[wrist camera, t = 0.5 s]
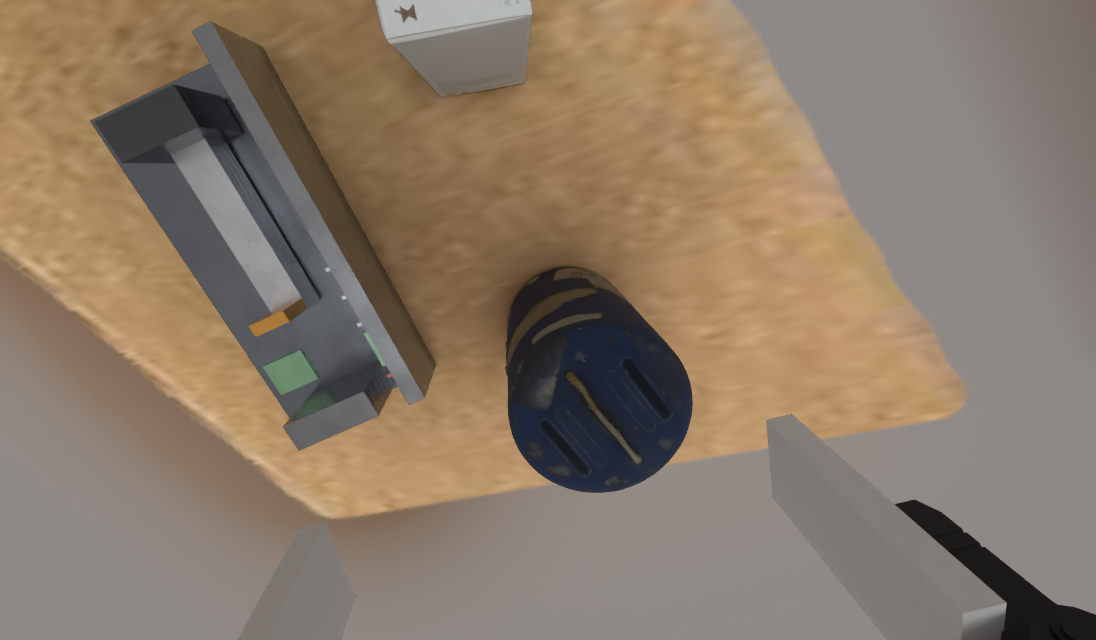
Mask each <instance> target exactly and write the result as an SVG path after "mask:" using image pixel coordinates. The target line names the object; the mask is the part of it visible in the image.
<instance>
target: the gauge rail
mask: <svg viewBox="0 0 1096 640" xmlns="http://www.w3.org/2000/svg"><path fill="white" fill-rule="evenodd" d="M192 33H193V34H194V36H195V38H196V40H197V41H198V43H199V45H200V46H201V48H202V50H203V52H204V53H205V55H206V57H207V58H208V60H209V62H210V64H208V65H206V66H204V67H202V68H200V69H198V70H196V71H194V72H192V73H189V74H187V75H185V76H183V77H181V78H179V79H177V80H175V81H173V82H171V83H169V84H166V85H164V86H162V87H160V88H158V89H156V90H154V91H152V92H150V93H148V94H145V95H143V96H141V97H139V98H137V99H135V100H133V101H131V102H129V103H127V104H124V105H122V106H120V107H118V108H116V109H114V110H112V111H110V112H108V113H106V114H104V115H101V116H99V117H97V118H95V119H93V120H91V121H90V122H91V123H92V125H93V126H94V128H95V129H96V131H97V132H98V134H99V135H100V137H101V138H102V140H103V141H104V143H105V144H106V146H107V147H108V149H109V150H110V152H111V153H112V155H113V156H114V158H115V159H116V161H117V162H118V164H119V165H120V167H121V168H122V170H123V171H124V173H125V174H126V176H127V177H128V178H129V180H130V181H131V183H132V184H133V186H134V187H135V189H136V190H137V192H138V193H139V195H140V196H141V198H142V199H143V201H144V202H145V204H146V205H147V207H148V208H149V210H150V211H151V213H152V214H153V216H154V217H155V219H156V220H157V222H158V223H159V225H160V226H161V228H162V229H163V231H164V232H165V233H166V235H167V236H168V238H169V239H170V241H171V242H172V244H173V245H174V247H175V248H176V250H177V251H178V253H179V254H180V256H181V257H182V259H183V260H184V262H185V263H186V265H187V266H188V268H189V269H190V271H191V272H192V274H193V275H194V277H195V278H196V280H197V281H198V283H199V284H200V286H201V287H202V288H203V290H204V291H205V293H206V294H207V296H208V297H209V299H210V300H211V302H212V303H213V305H214V306H215V308H216V309H217V311H218V312H219V314H220V315H221V317H222V318H223V320H224V321H225V323H226V324H227V326H228V327H229V329H230V330H231V332H232V333H233V335H234V336H235V338H236V339H237V341H238V342H239V343H240V345H241V346H242V348H243V349H244V351H245V352H246V354H247V355H248V357H249V358H250V360H251V361H252V363H253V364H254V366H255V367H256V369H257V370H258V372H259V373H260V375H261V376H262V378H263V379H264V381H265V382H266V384H267V385H268V387H269V388H270V390H271V391H272V393H273V394H274V396H275V397H276V398H277V400H278V401H279V403H280V404H281V406H282V407H283V409H284V410H285V412H286V413H287V415H288V416H289V418H290V419H289V420H288V421H287V423H286V424H285V425H284V426H283V428H284V430H285V431H286V433H287V434H288V435H289V437H290V438H291V440H292V441H293V443H294V444H295V446H296V447H297V449H298V450H302V449H304V448H306V447H309V446H311V445H313V444H316V443H318V442H320V441H322V440H325V439H327V438H329V437H332V436H334V435H336V434H338V433H341V432H343V431H345V430H348V429H350V428H352V427H354V426H357V425H359V424H361V423H364V422H366V421H368V420H370V419H373V418H375V417H377V416H379V414H380V412H381V410H382V408H383V406H384V404H385V402H386V400H387V398H388V396H389V394H390V392H391V390H392V389H393V388H395V387H397V386H398V387H399V389H400V390H401V392H402V394H403V396H404V397H405V399H406V401H407V402H408V404H409V405H410V404H412V403H414V402H417V401H419V400H421V399H424V398H425V395H426V392H427V390H428V387H429V384H430V381H431V378H432V375H433V372H434V369H435V366H436V364H435V362H434V360H433V358H432V356H431V355H430V353H429V351H428V349H427V347H426V345H425V344H424V342H423V340H422V338H421V336H420V334H419V333H418V331H417V329H416V327H415V325H414V323H413V322H412V320H411V318H410V316H409V314H408V312H407V311H406V309H405V307H404V305H403V303H402V301H401V300H400V298H399V296H398V294H397V292H396V290H395V289H394V287H393V285H392V283H391V281H390V279H389V278H388V276H387V274H386V272H385V270H384V268H383V267H382V265H381V263H380V261H379V259H378V258H377V256H376V254H375V252H374V250H373V248H372V247H371V245H370V243H369V241H368V239H367V237H366V236H365V234H364V232H363V230H362V228H361V226H360V225H359V223H358V221H357V219H356V217H355V215H354V214H353V212H352V210H351V208H350V206H349V204H348V203H347V201H346V199H345V197H344V195H343V193H342V192H341V190H340V188H339V186H338V184H337V182H336V181H335V179H334V177H333V175H332V173H331V171H330V170H329V168H328V166H327V164H326V162H325V160H324V159H323V157H322V155H321V153H320V151H319V150H318V148H317V146H316V144H315V142H314V140H313V139H312V137H311V135H310V133H309V131H308V129H307V128H306V126H305V124H304V122H303V120H302V118H301V117H300V115H299V113H298V111H297V109H296V107H295V106H294V104H293V102H292V100H291V98H290V96H289V95H288V93H287V91H286V89H285V87H284V85H283V84H282V82H281V80H280V78H279V76H278V74H277V73H276V71H275V69H274V67H273V65H272V63H271V62H270V60H269V58H268V56H267V54H266V52H265V51H264V49H263V47H262V46H260V45H258V44H255V43H253V42H251V41H249V40H247V39H245V38H243V37H241V36H239V35H237V34H235V33H233V32H231V31H229V30H227V29H225V28H223V27H221V26H219V25H217V24H215V23H213V22H211V21H210V22H208V23H206V24H204V25H202V26H200V27H198V28H196V29H194V30H192ZM173 84H174V85H178V86H182V87H186V88H190V89H194V90H198V91H202V92H206V93H210V94H214V95H218V96H221V97H222V98H223V100H224V102H225V103H226V105H227V107H228V109H229V110H230V112H231V114H232V115H233V117H234V119H235V121H236V122H237V124H238V126H239V127H240V129H241V131H242V133H240V134H238V135H236V136H234V137H232V138H230V139H227V140H225V141H226V143H227V145H228V146H229V148H230V150H231V151H232V153H233V155H234V156H235V158H236V160H237V161H238V163H239V165H240V166H241V168H242V170H243V171H244V173H245V175H246V176H247V178H248V180H249V181H250V183H251V185H252V186H253V188H254V190H255V191H256V193H257V195H258V196H259V198H260V200H261V201H262V203H263V205H264V206H265V208H266V210H267V211H268V213H269V215H270V216H271V218H272V220H273V221H274V223H275V225H276V226H277V228H278V230H279V231H280V233H281V235H282V236H283V238H284V240H285V241H286V243H287V245H288V246H289V248H290V250H291V251H292V253H293V255H294V256H295V258H296V260H297V261H298V263H299V265H300V266H301V268H302V270H303V271H304V273H305V275H306V276H307V278H308V280H309V281H310V283H311V285H312V286H313V288H314V290H315V291H316V293H317V295H318V296H319V298H320V300H319V301H318V302H316V303H315V304H314V305H312V306H311V307H310V308H308V309H307V310H305V311H304V312H303V313H301V314H300V315H298V316H297V317H296V318H294V319H293V320H291V321H290V322H288V323H286V324H284V325H281V326H279V327H277V328H275V329H273V330H270V331H268V332H266V333H264V334H261V335H259V336H257V337H255V335H254V334H253V332H252V331H251V329H250V328H249V325H251V324H253V323H254V322H256V321H257V320H259V319H261V318H262V317H264V316H266V315H267V314H269V313H270V310H269V308H268V307H267V305H266V304H265V302H264V301H263V299H262V297H261V296H260V294H259V293H258V291H257V290H256V288H255V286H254V285H253V283H252V282H251V280H250V279H249V277H248V275H247V274H246V272H245V271H244V269H243V268H242V266H241V265H240V263H239V261H238V260H237V258H236V257H235V255H234V254H233V252H232V250H231V249H230V247H229V246H228V244H227V243H226V241H225V239H224V238H223V236H222V235H221V233H220V232H219V230H218V228H217V227H216V225H215V224H214V222H213V221H212V219H211V217H210V216H209V214H208V213H207V211H206V210H205V208H204V206H203V205H202V203H201V202H200V200H199V199H198V197H197V196H196V194H195V192H194V191H193V189H192V188H191V186H190V185H189V183H188V181H187V180H186V178H185V177H184V175H183V174H182V172H181V170H180V169H179V167H178V166H177V164H161V163H122V162H121V161H120V159H119V158H118V156H117V155H116V153H115V152H114V150H113V149H112V147H111V146H110V144H109V143H108V141H107V140H106V138H105V137H104V136H103V134H102V133H101V131H100V130H99V128H98V127H97V125H96V124H95V121H97V120H99V119H101V118H103V117H106V116H108V115H110V114H112V113H114V112H116V111H118V110H120V109H122V108H124V107H127V106H129V105H131V104H133V103H135V102H137V101H139V100H141V99H143V98H145V97H148V96H150V95H152V94H154V93H156V92H158V91H160V90H162V89H164V88H166V87H169V86H171V85H173Z"/></svg>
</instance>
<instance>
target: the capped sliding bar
mask: <svg viewBox="0 0 1096 640" xmlns="http://www.w3.org/2000/svg"><path fill="white" fill-rule="evenodd" d="M95 124H96V125H97V127H98V128H99V130H100V131H101V133H102V134H103V136H104V137H105V138H106V140H107V141H108V143H109V144H110V146H111V147H112V149H113V150H114V152H115V153H116V155H117V156H118V158H119V159H120V161H121V162H122V163H161V164H177V166H178V167H179V169H180V170H181V172H182V174H183V175H184V177H185V178H186V180H187V181H188V183H189V185H190V186H191V188H192V189H193V191H194V192H195V194H196V196H197V197H198V199H199V200H200V202H201V203H202V205H203V206H204V208H205V210H206V211H207V213H208V214H209V216H210V217H211V219H212V221H213V222H214V224H215V225H216V227H217V228H218V230H219V232H220V233H221V235H222V236H223V238H224V239H225V241H226V243H227V244H228V246H229V247H230V249H231V250H232V252H233V254H234V255H235V257H236V258H237V260H238V261H239V263H240V265H241V266H242V268H243V269H244V271H245V272H246V274H247V275H248V277H249V279H250V280H251V282H252V283H253V285H254V286H255V288H256V290H257V291H258V293H259V294H260V296H261V297H262V299H263V301H264V302H265V304H266V305H267V307H268V308H269V310H270V313H269V314H267V315H266V316H264V317H262V318H261V319H259V320H257V321H256V322H254V323H253V324H251V325H249V328H250V329H251V331H252V332H253V334H254V335H255V337H257V336H259V335H261V334H264V333H266V332H268V331H270V330H273V329H275V328H277V327H279V326H281V325H284V324H286V323H288V322H290V321H291V320H293V319H294V318H296V317H297V316H298V315H300V314H301V313H303V312H304V311H305V310H307V309H308V308H310V307H311V306H312V305H314V304H315V303H316V302H318V301H319V300H320V298H319V296H318V295H317V293H316V291H315V290H314V288H313V286H312V285H311V283H310V281H309V280H308V278H307V276H306V275H305V273H304V271H303V270H302V268H301V266H300V265H299V263H298V261H297V260H296V258H295V256H294V255H293V253H292V251H291V250H290V248H289V246H288V245H287V243H286V241H285V240H284V238H283V236H282V235H281V233H280V231H279V230H278V228H277V226H276V225H275V223H274V221H273V220H272V218H271V216H270V215H269V213H268V211H267V210H266V208H265V206H264V205H263V203H262V201H261V200H260V198H259V196H258V195H257V193H256V191H255V190H254V188H253V186H252V185H251V183H250V181H249V180H248V178H247V176H246V175H245V173H244V171H243V170H242V168H241V166H240V165H239V163H238V161H237V160H236V158H235V156H234V155H233V153H232V151H231V150H230V148H229V146H228V145H227V143H226V141H225V140H227V139H230V138H232V137H234V136H236V135H238V134H240V133H242V131H241V129H240V127H239V126H238V124H237V122H236V121H235V119H234V117H233V115H232V114H231V112H230V110H229V109H228V107H227V105H226V103H225V102H224V100H223V98H222V97H221V96H218V95H214V94H210V93H206V92H202V91H198V90H194V89H190V88H186V87H182V86H178V85H174V84H173V85H171V86H169V87H166V88H164V89H162V90H160V91H158V92H156V93H154V94H152V95H150V96H148V97H145V98H143V99H141V100H139V101H137V102H135V103H133V104H131V105H129V106H127V107H124V108H122V109H120V110H118V111H116V112H114V113H112V114H110V115H108V116H106V117H103V118H101V119H99V120H97V121H95Z"/></svg>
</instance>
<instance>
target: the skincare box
mask: <svg viewBox="0 0 1096 640" xmlns="http://www.w3.org/2000/svg"><path fill="white" fill-rule="evenodd" d="M375 1H376V5H377V10H378V14H379V18H380V22H381V26H382V30H383V33H384V36H385V37H386V39H387V41H388V42H389V44H390V45H392V46H394V47H395V48H396V49H397V50H398V51H399V52H400V53H401V55H402V56H403V57H404V58H405V59H406V60H407V61H408V62H409V63H410V64H411V65H412V66H413V68H414V69H415V70H416V71H417V72H418V73H419V74H420V75H421V76H422V77H423V78H424V79H425V80H426V81H427V82H428V84H429V85H430V86H431V87H432V88H433V89H434V90H435V91H436V92H437V94H438V95H439V96H440V97H448V96H454V95H461V94H467V93H473V92H478V91H484V90H490V89H496V88H501V87H507V86H512V85H517V84H523V83H525V80H526V67H527V58H528V48H529V38H530V25H531V18H532V14H533V13H532V5H531V0H375Z"/></svg>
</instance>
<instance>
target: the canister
mask: <svg viewBox="0 0 1096 640" xmlns="http://www.w3.org/2000/svg"><path fill="white" fill-rule="evenodd" d="M506 363H507V366H506V367H505V370H506V374H507V376H508V416H509V423H510V427H511V431H512V435H513V438H514V440H515V443H516V445H517V447H518V449H519V451H520V452H521V454H522V455H523V457H524V458H525V459H526V460H527V462H528V463H529V464H530V465H531V466H532V467H533V468H534V469H535V470H536V471H537V472H538V473H539V474H541V475H542V476H543V477H545V478H546V479H548V480H550V481H552V482H554V483H556V484H558V485H560V486H563V487H566V488H568V489H572V490H576V491H581V492H592V493H602V492H612V491H618V490H622V489H625V488H628V487H631V486H633V485H635V484H638V483H640V482H642V481H644V480H645V479H647V478H649V477H650V476H652V475H654V474H655V473H656V472H657V471H659V470H660V469H661V468H662V467H663V466H664V465H665V464H666V463H667V462H668V461H669V460H670V459H671V458H672V457H673V455H674V454H675V453H676V451H677V450H678V449H679V447H680V445H681V444H682V442H683V440H684V438H685V436H686V433H687V430H688V427H689V423H690V420H691V415H692V404H693V402H692V390H691V385H690V381H689V378H688V375H687V372H686V370H685V368H684V366H683V364H682V362H681V361H680V359H679V358H678V356H677V355H676V354H675V352H674V351H673V350H672V349H671V348H670V347H669V345H668V344H667V343H666V342H665V341H664V340H663V339H662V338H661V337H660V336H659V334H658V333H657V332H656V331H655V330H654V329H653V328H652V327H651V326H650V325H649V324H648V323H647V322H646V321H645V320H644V318H643V317H642V316H641V315H640V314H639V313H638V312H637V311H636V310H635V308H634V307H633V306H632V305H631V304H630V303H629V302H628V301H627V300H626V299H625V298H624V296H623V295H622V294H621V293H620V292H619V291H618V290H617V289H616V288H615V287H614V286H613V285H612V284H611V283H610V282H609V281H607V280H606V279H605V278H603V277H602V276H600V275H598V274H596V273H594V272H592V271H589V270H586V269H582V268H573V267H564V268H557V269H553V270H550V271H547V272H544V273H542V274H540V275H538V276H536V277H535V278H533V279H532V280H531V281H529V282H528V283H527V284H526V285H525V286H524V287H523V288H522V289H521V291H520V292H519V293H518V295H517V296H516V298H515V300H514V302H513V304H512V306H511V309H510V312H509V316H508V326H507V342H506Z"/></svg>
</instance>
